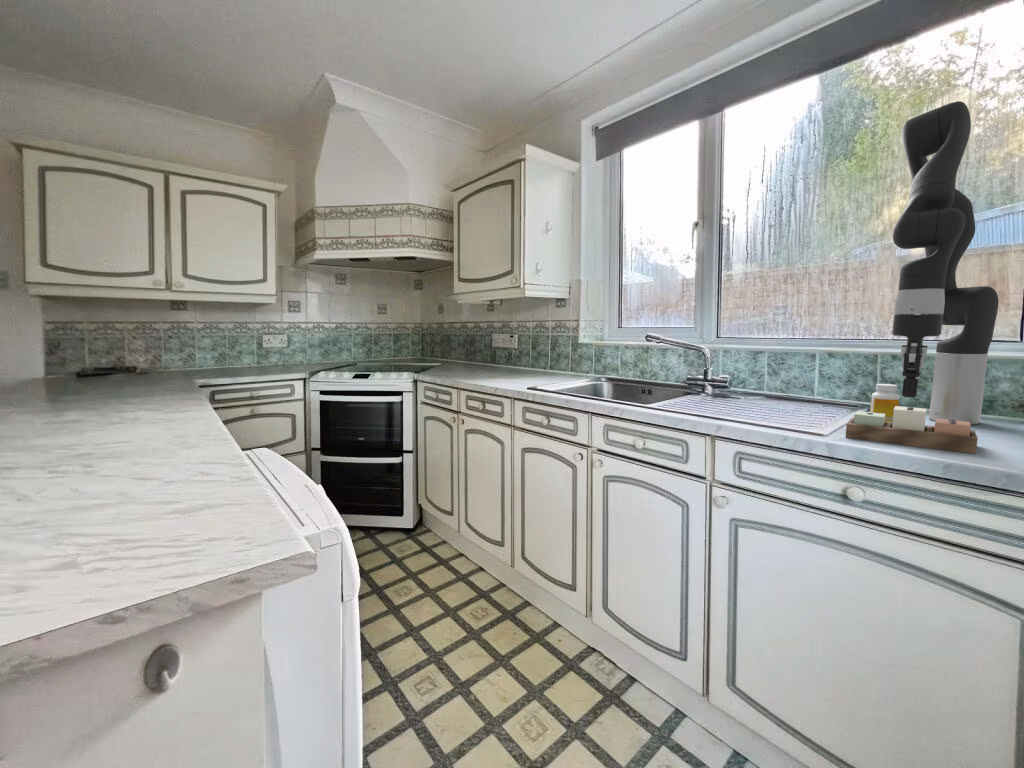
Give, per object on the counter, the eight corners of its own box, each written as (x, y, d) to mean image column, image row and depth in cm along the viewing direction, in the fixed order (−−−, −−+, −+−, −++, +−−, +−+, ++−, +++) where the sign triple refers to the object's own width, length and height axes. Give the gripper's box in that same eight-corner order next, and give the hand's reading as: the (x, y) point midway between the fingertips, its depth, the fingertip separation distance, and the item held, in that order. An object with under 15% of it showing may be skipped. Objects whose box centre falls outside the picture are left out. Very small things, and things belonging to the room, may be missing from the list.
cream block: (891, 428, 95) (893, 408, 95) (893, 424, 99) (895, 405, 99) (924, 431, 92) (926, 411, 92) (924, 427, 96) (926, 407, 95)
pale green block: (852, 432, 100) (854, 413, 99) (855, 428, 104) (857, 410, 103) (881, 435, 97) (883, 416, 96) (883, 431, 100) (885, 412, 100)
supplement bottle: (902, 426, 110) (906, 386, 109) (876, 425, 111) (880, 385, 110) (888, 421, 115) (892, 383, 114) (864, 420, 116) (868, 383, 115)
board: (845, 437, 99) (846, 423, 99) (850, 430, 106) (852, 417, 106) (975, 454, 86) (977, 438, 86) (972, 444, 92) (974, 430, 92)
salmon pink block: (933, 441, 91) (935, 421, 91) (933, 437, 95) (935, 417, 94) (968, 446, 88) (970, 424, 87) (966, 441, 92) (969, 420, 91)
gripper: (896, 313, 100) (888, 392, 102) (892, 312, 91) (882, 398, 93) (943, 313, 95) (933, 395, 97) (943, 311, 86) (933, 402, 88)
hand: (908, 396), depth 95 cm, fingers closed
